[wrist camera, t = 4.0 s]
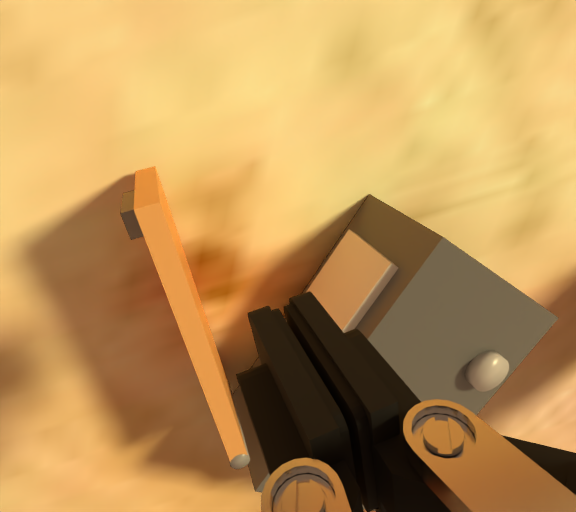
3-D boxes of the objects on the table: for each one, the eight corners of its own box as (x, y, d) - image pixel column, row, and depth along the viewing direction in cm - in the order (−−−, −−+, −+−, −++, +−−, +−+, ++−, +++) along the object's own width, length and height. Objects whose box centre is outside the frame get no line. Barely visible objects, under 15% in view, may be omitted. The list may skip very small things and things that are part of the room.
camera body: (362, 189, 21) (445, 237, 15) (474, 266, 26) (569, 324, 20) (212, 411, 24) (234, 521, 18) (337, 443, 29) (386, 538, 23)
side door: (120, 175, 17) (113, 214, 12) (156, 166, 17) (161, 201, 13) (205, 397, 23) (221, 476, 18) (231, 388, 23) (252, 464, 19)
